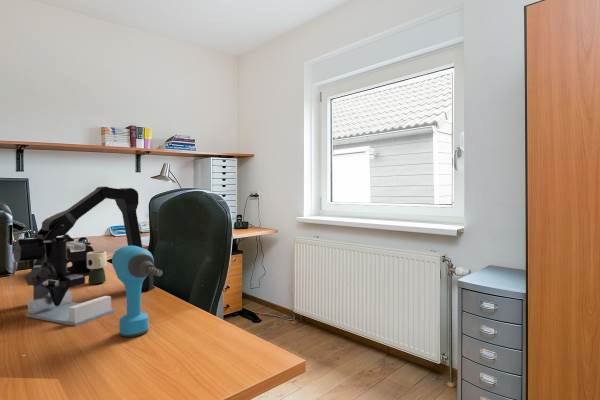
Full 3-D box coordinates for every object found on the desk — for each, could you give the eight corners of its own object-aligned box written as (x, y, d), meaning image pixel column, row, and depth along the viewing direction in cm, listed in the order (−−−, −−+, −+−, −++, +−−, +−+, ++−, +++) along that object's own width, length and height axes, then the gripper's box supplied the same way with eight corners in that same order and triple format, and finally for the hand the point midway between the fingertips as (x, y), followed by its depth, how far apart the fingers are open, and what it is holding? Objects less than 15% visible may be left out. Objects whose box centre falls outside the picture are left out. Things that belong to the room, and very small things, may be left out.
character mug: (84, 282, 147) (83, 251, 147) (102, 279, 152) (102, 249, 152) (90, 287, 140) (90, 255, 139) (110, 284, 145) (109, 252, 144)
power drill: (179, 350, 84) (178, 253, 84) (142, 362, 78) (141, 258, 78) (138, 319, 105) (137, 241, 104) (106, 327, 99) (105, 244, 98)
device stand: (83, 267, 179) (82, 238, 178) (104, 273, 166) (104, 241, 165) (29, 276, 161) (29, 243, 160) (49, 283, 147) (48, 248, 147)
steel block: (49, 301, 122) (48, 264, 122) (48, 304, 119) (47, 266, 118) (34, 303, 120) (34, 265, 120) (33, 306, 117) (32, 267, 116)
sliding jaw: (71, 302, 118) (71, 290, 118) (33, 313, 107) (32, 300, 107) (66, 301, 119) (66, 289, 119) (27, 312, 108) (27, 300, 108)
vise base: (114, 311, 112) (114, 296, 112) (75, 326, 100) (75, 309, 99) (67, 303, 120) (67, 289, 120) (25, 316, 108) (25, 300, 107)
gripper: (8, 259, 107) (10, 310, 108) (49, 264, 101) (51, 317, 101) (46, 253, 118) (47, 299, 118) (86, 257, 111) (87, 306, 111)
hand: (57, 305), depth 112 cm, fingers closed
